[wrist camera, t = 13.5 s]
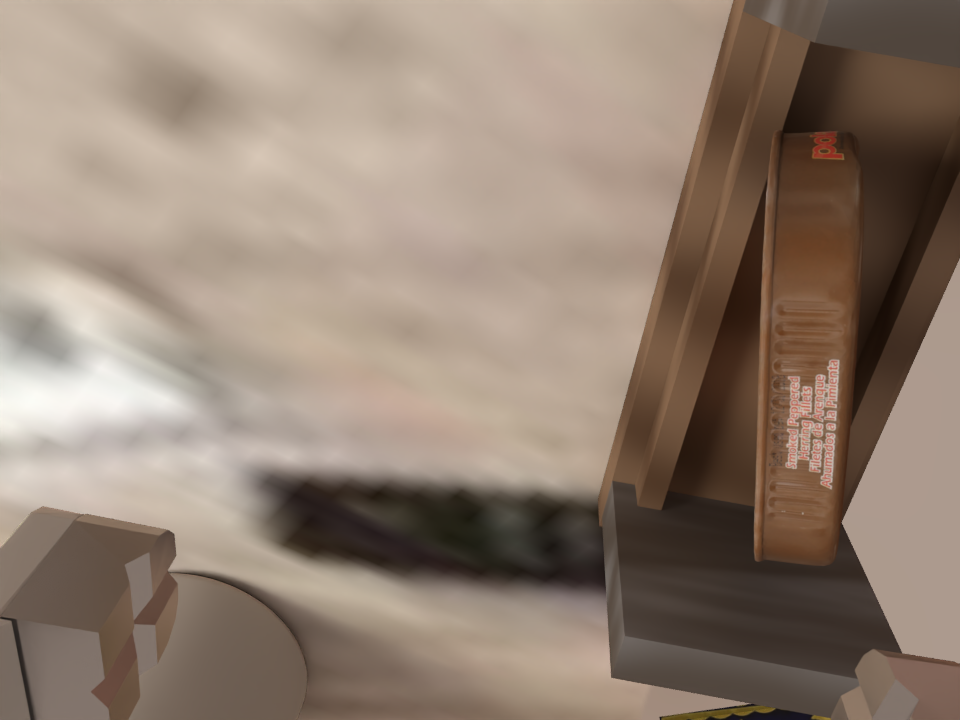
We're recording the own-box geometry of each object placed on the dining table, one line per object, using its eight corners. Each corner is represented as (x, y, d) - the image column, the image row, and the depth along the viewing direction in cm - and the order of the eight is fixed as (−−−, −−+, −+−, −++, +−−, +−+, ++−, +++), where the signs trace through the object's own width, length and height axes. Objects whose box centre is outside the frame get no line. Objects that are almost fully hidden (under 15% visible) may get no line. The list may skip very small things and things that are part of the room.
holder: (753, -74, 28) (853, -79, 18) (1050, -23, 28) (1312, 0, 18) (598, 499, 39) (608, 687, 29) (810, 537, 39) (891, 740, 29)
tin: (778, 104, 28) (740, 173, 22) (881, 100, 27) (873, 172, 20) (764, 470, 35) (732, 609, 28) (846, 481, 34) (832, 629, 27)
